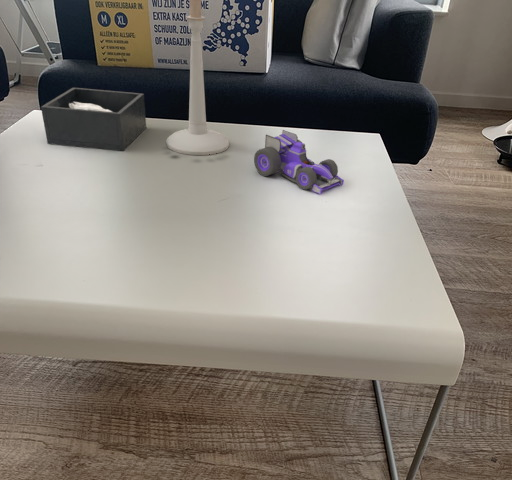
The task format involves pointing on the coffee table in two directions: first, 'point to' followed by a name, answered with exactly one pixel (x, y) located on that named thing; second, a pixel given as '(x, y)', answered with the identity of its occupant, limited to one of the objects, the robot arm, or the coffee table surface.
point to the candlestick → (197, 101)
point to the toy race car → (295, 163)
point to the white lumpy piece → (87, 106)
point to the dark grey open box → (95, 119)
